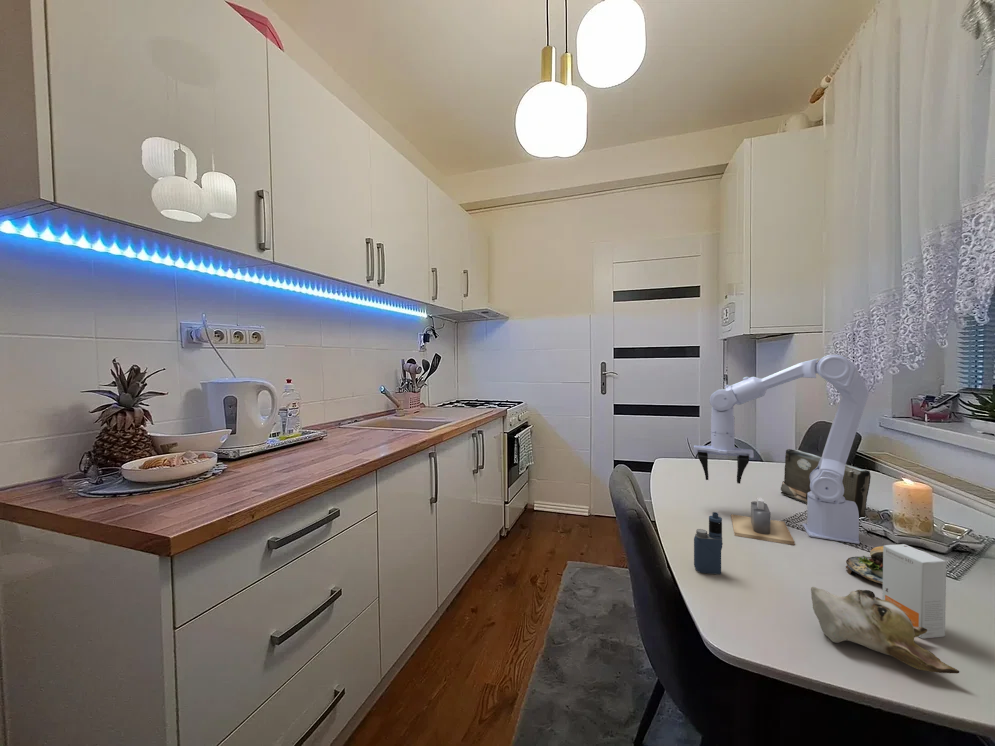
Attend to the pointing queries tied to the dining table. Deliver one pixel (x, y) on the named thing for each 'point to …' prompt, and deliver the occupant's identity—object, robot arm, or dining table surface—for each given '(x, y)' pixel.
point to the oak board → (777, 534)
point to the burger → (868, 565)
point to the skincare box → (916, 586)
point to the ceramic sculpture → (874, 627)
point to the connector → (760, 516)
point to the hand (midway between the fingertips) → (722, 480)
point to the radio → (799, 481)
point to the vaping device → (709, 547)
